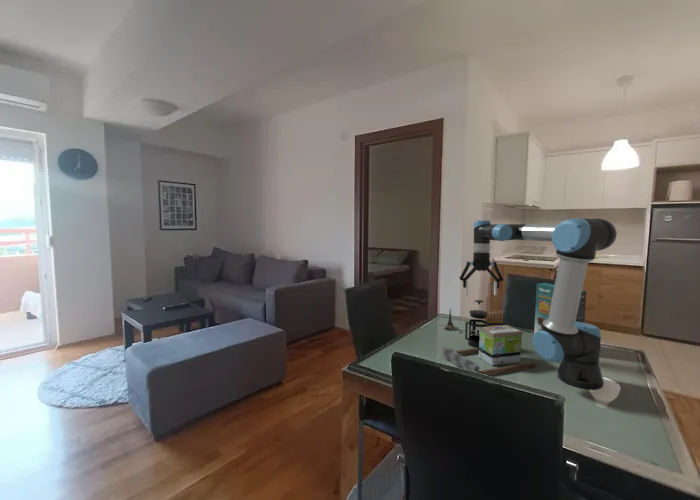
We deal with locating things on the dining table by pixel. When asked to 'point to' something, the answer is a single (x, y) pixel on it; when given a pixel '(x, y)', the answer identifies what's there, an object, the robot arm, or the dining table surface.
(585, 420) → the dining table surface
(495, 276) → the robot arm
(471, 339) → the french press
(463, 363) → the guide track
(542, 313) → the cake mix box
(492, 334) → the tea box
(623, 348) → the dining table surface
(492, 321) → the ammunition clip
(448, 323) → the eiffel tower figurine
